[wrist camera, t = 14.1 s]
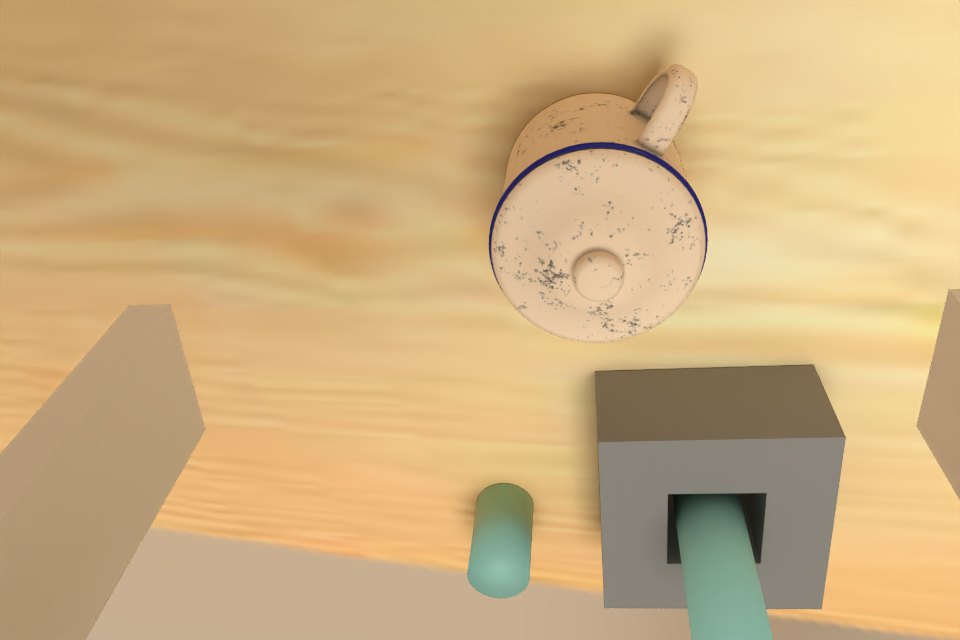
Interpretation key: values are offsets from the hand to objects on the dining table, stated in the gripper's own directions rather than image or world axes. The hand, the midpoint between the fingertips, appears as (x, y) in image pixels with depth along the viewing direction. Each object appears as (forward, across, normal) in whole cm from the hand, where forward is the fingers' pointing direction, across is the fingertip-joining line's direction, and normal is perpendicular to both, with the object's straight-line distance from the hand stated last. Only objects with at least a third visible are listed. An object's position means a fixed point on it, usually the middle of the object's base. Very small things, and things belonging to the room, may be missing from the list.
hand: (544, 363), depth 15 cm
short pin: (+29, -4, -30) cm, 41 cm away
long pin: (+29, +8, -25) cm, 39 cm away
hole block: (+29, +8, -25) cm, 39 cm away
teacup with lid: (+29, +3, -6) cm, 30 cm away
